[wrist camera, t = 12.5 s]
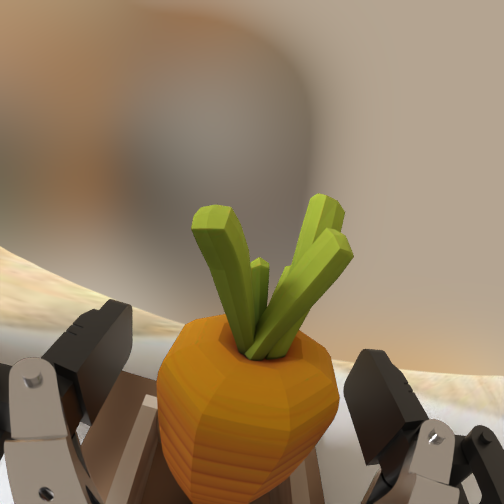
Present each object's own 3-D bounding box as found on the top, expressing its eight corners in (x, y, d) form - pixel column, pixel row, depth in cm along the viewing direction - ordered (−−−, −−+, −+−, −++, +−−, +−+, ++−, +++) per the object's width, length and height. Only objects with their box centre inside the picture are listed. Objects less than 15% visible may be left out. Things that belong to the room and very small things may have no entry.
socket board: (56, 522, 6) (20, 494, 4) (121, 380, 18) (118, 333, 16) (324, 567, 6) (370, 552, 5) (302, 415, 19) (324, 373, 17)
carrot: (171, 542, 7) (183, 176, 3) (158, 467, 11) (174, 163, 7) (270, 530, 8) (463, 242, 4) (243, 463, 13) (333, 195, 9)
